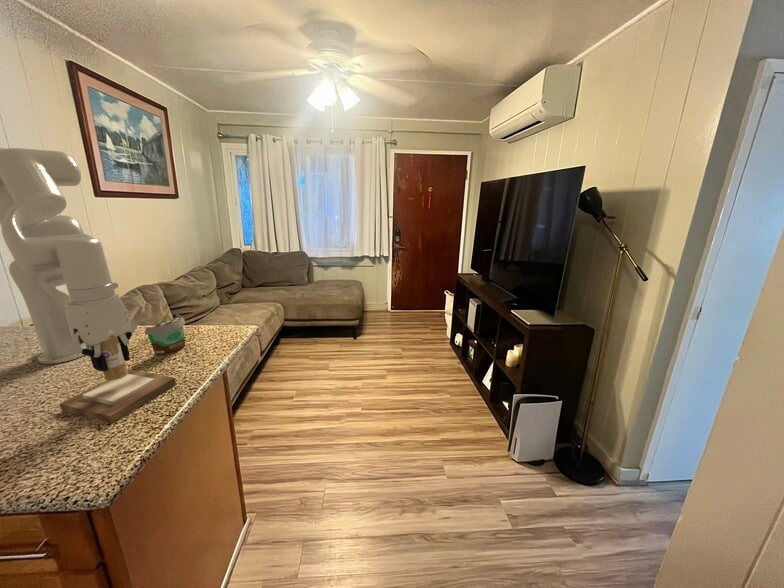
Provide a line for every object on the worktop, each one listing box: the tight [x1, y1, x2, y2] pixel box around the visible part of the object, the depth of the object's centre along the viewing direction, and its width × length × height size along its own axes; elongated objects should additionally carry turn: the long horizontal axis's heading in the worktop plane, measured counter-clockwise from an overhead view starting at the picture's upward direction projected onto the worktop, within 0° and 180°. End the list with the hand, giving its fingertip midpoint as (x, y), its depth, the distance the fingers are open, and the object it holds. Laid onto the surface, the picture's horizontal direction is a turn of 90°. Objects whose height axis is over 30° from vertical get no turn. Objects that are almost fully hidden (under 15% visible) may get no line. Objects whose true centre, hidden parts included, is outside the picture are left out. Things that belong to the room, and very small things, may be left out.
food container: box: [144, 313, 186, 356], centre depth 104 cm, size 12×6×10 cm, turn 168°
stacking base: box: [59, 368, 177, 424], centre depth 81 cm, size 16×16×3 cm
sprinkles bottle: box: [100, 330, 128, 381], centre depth 77 cm, size 5×5×13 cm
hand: (113, 364), depth 78 cm, fingers closed on sprinkles bottle, 4 cm apart
